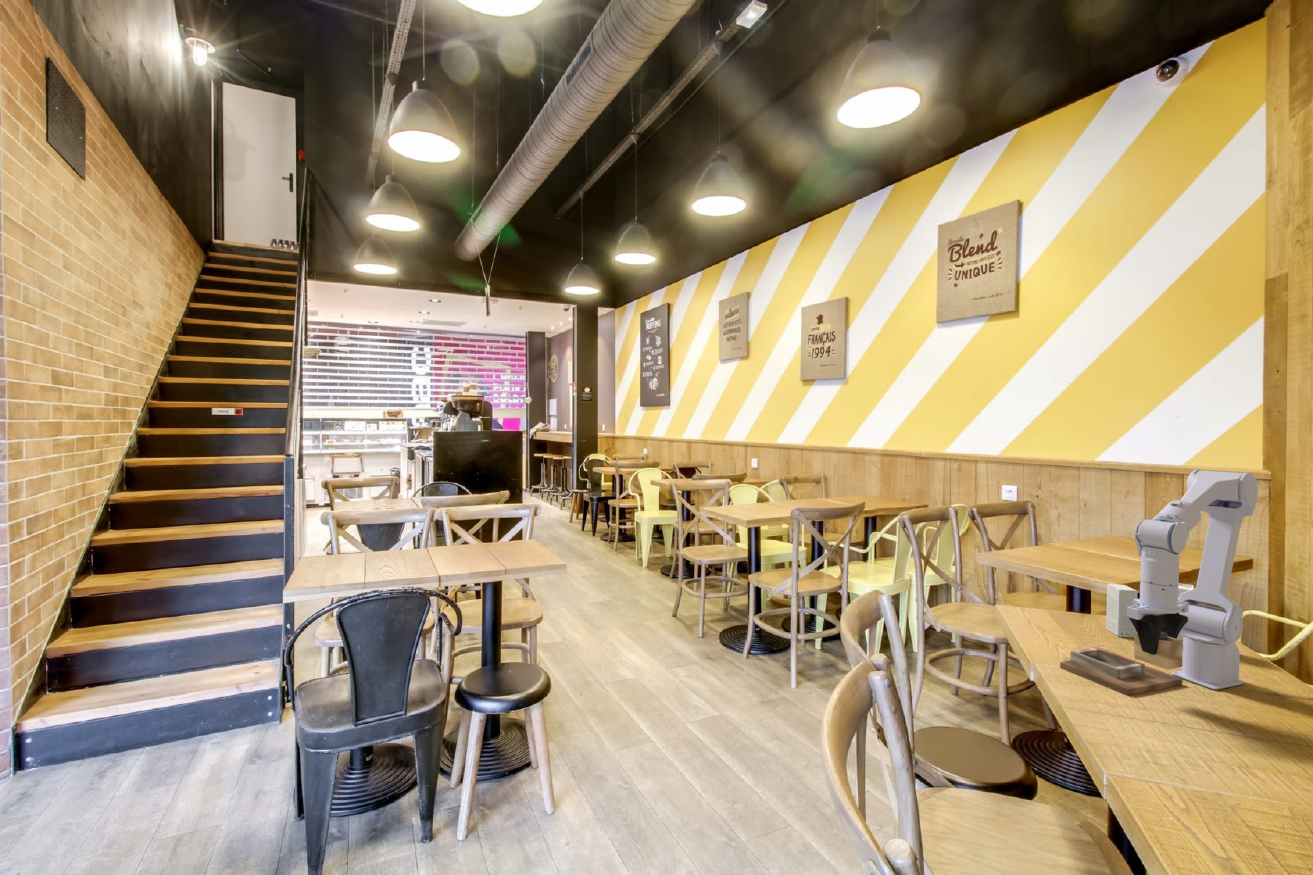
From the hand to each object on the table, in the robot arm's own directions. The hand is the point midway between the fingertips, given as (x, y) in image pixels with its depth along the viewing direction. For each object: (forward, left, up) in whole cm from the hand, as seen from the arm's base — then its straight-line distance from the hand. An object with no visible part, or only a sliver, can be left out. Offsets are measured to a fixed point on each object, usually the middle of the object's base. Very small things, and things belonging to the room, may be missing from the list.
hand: (1157, 651), depth 117 cm
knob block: (0, 0, -2) cm, 2 cm away
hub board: (-4, -10, -9) cm, 14 cm away
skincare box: (-31, -28, -10) cm, 43 cm away
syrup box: (-37, -19, -10) cm, 43 cm away
